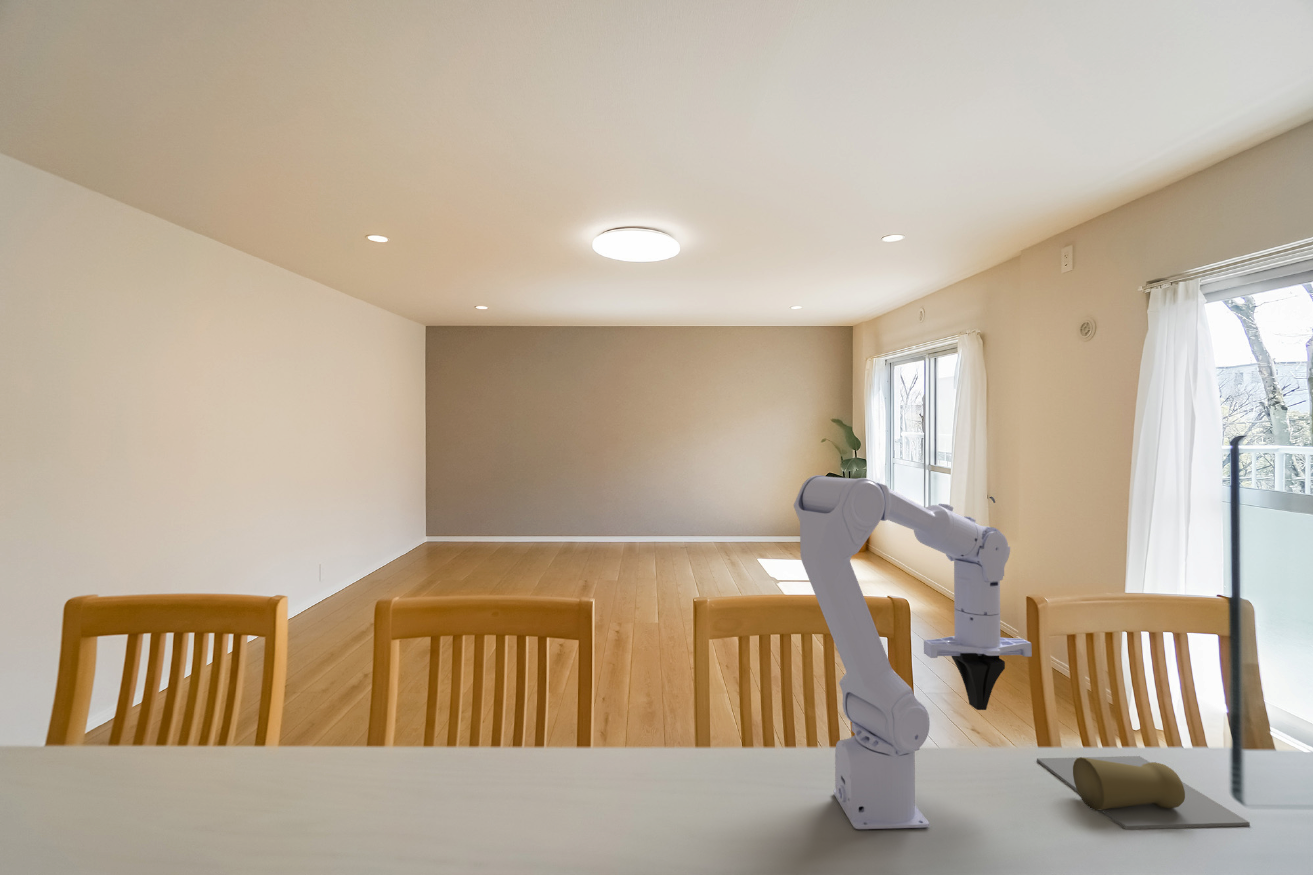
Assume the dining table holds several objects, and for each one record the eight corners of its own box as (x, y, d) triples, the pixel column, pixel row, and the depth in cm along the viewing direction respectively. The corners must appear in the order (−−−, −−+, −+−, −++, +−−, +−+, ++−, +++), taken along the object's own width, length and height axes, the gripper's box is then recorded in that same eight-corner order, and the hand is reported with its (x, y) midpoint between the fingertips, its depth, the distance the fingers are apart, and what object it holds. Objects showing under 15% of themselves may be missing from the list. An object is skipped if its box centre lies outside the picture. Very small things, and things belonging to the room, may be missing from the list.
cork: (1106, 818, 75) (1197, 821, 74) (1101, 766, 76) (1190, 768, 75) (1075, 798, 80) (1159, 800, 80) (1070, 750, 82) (1153, 752, 81)
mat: (1125, 828, 73) (1125, 825, 73) (1036, 760, 89) (1036, 758, 89) (1249, 825, 74) (1249, 822, 74) (1139, 758, 90) (1139, 755, 90)
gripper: (941, 618, 80) (942, 720, 80) (1046, 617, 81) (1047, 718, 80) (916, 604, 87) (916, 698, 87) (1012, 603, 88) (1013, 696, 87)
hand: (977, 706), depth 84 cm, fingers closed
